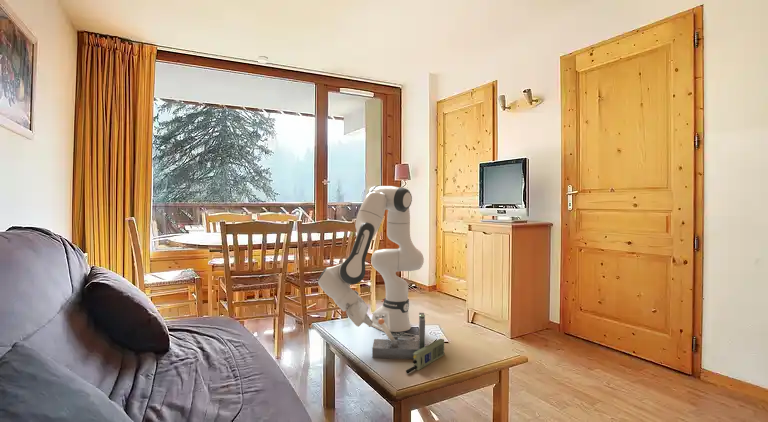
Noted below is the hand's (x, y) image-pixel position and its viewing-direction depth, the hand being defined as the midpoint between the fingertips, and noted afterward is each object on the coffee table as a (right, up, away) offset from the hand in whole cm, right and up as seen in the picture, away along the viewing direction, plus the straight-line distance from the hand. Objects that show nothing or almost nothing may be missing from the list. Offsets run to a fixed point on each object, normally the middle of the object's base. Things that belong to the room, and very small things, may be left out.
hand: (371, 324), depth 168 cm
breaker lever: (+10, -8, 0) cm, 13 cm away
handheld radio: (+21, -13, -9) cm, 27 cm away
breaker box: (+11, -12, 0) cm, 16 cm away
